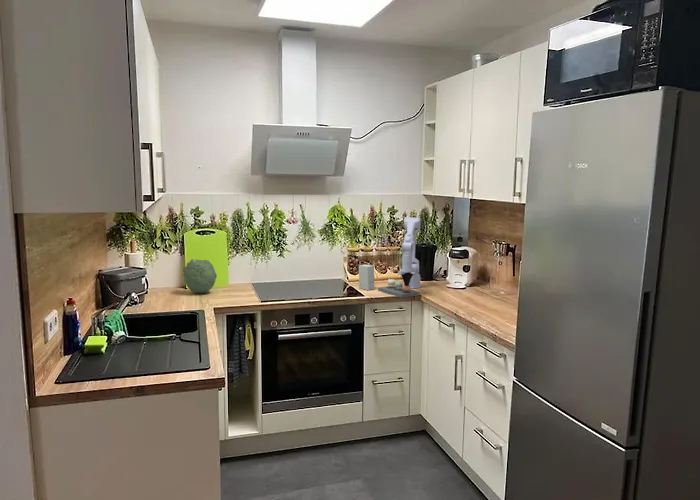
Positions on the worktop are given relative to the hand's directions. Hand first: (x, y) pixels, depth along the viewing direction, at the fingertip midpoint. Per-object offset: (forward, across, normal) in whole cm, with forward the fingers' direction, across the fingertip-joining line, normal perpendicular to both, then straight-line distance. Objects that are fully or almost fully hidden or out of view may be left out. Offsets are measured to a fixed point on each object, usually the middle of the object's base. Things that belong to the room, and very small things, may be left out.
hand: (406, 285), depth 296 cm
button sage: (+2, -2, -7) cm, 7 cm away
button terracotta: (+3, 0, 0) cm, 3 cm away
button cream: (+2, -3, -14) cm, 14 cm away
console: (+6, -2, -7) cm, 9 cm away
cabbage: (+6, +82, -87) cm, 120 cm away
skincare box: (+6, +4, -28) cm, 28 cm away
